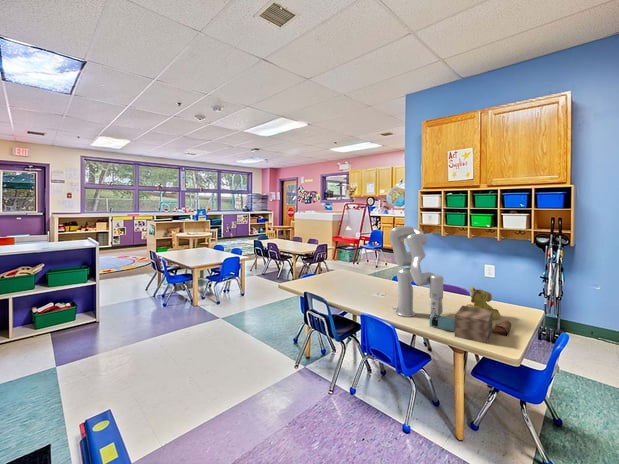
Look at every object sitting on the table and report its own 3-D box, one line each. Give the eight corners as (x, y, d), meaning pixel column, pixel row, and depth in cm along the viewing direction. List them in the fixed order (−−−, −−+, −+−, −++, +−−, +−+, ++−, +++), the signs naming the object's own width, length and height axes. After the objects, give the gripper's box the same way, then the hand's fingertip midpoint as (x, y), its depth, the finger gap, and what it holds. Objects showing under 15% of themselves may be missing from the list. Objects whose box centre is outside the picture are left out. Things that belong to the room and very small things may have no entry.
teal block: (429, 326, 184) (429, 316, 184) (431, 323, 188) (431, 314, 188) (454, 331, 176) (454, 321, 176) (456, 328, 180) (456, 318, 180)
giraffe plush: (504, 317, 199) (505, 288, 197) (487, 325, 185) (488, 294, 184) (473, 308, 215) (473, 282, 214) (455, 315, 202) (455, 287, 201)
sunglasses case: (494, 323, 188) (501, 315, 185) (506, 331, 184) (513, 323, 182) (490, 333, 173) (497, 324, 171) (502, 341, 170) (510, 333, 167)
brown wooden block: (454, 336, 169) (455, 314, 168) (461, 325, 185) (462, 305, 184) (487, 343, 160) (488, 320, 159) (492, 331, 175) (492, 310, 174)
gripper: (439, 299, 174) (438, 330, 175) (446, 293, 188) (445, 321, 189) (425, 297, 179) (425, 327, 180) (433, 291, 192) (433, 319, 194)
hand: (435, 324), depth 185 cm, fingers closed on teal block, 5 cm apart
